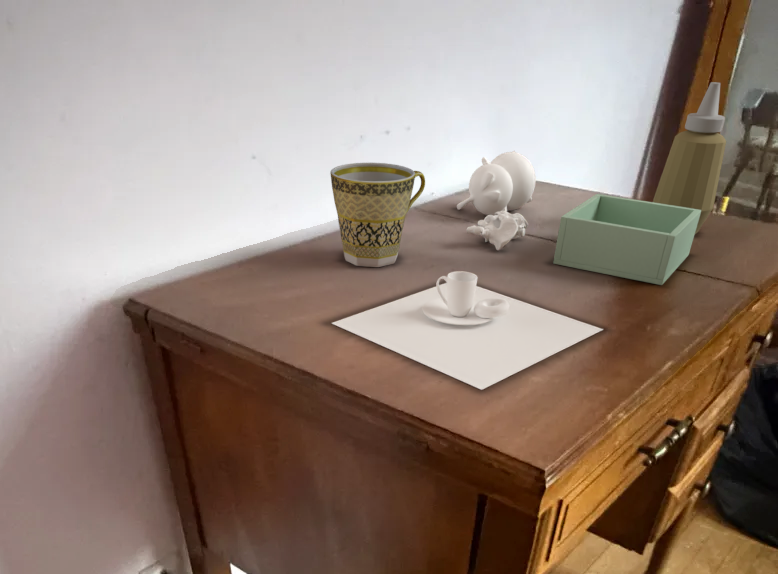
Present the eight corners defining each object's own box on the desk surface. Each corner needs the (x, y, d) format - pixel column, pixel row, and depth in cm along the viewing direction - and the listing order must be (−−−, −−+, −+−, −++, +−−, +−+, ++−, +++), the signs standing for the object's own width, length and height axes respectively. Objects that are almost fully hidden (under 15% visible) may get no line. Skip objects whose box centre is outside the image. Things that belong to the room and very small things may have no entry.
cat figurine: (489, 149, 98) (534, 134, 105) (434, 183, 106) (479, 167, 113) (512, 212, 101) (554, 194, 108) (456, 241, 109) (499, 222, 116)
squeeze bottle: (634, 225, 105) (669, 79, 93) (681, 221, 107) (721, 78, 95) (668, 241, 99) (709, 87, 87) (717, 237, 101) (763, 86, 89)
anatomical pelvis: (488, 202, 98) (535, 205, 96) (487, 235, 101) (532, 238, 98) (465, 215, 93) (514, 218, 90) (464, 249, 95) (512, 253, 92)
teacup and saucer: (517, 318, 76) (523, 279, 74) (469, 338, 72) (474, 298, 69) (455, 295, 81) (458, 258, 79) (406, 313, 77) (408, 274, 74)
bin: (688, 255, 94) (701, 209, 91) (661, 285, 85) (675, 236, 81) (588, 237, 100) (596, 193, 96) (552, 263, 90) (561, 216, 87)
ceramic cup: (362, 277, 85) (363, 185, 79) (316, 254, 91) (314, 168, 85) (445, 258, 91) (452, 171, 85) (397, 238, 97) (400, 156, 91)
